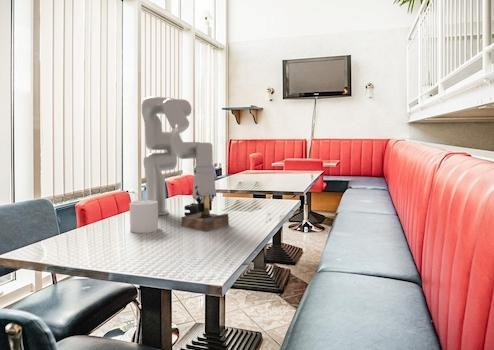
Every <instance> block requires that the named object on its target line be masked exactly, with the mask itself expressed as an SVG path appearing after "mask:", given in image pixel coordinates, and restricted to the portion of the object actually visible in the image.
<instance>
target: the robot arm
mask: <svg viewBox="0 0 494 350" xmlns="http://www.w3.org/2000/svg"><path fill="white" fill-rule="evenodd" d="M191 113H192V105H191V103H190V102H189V101H188V100H187V99H181V98H176V97H175V98H174V97H164V96H163V97H162V96H147V97H145V98H144V100H143V101H142V104H141V114H142V119H143V123H144V136H145V140H144V141H145V147H146V148H147V149H148V150H150V151H163V152H150V153H148V154H146V155H145V156H144V157H143V167H144V168H143V169H144V171H145V184H146V187H145V189H146V200H153V201H157V202H158V216H164V215H168V214H169V212H170V211H169V210H168V209H166V206H167V205H166V179H165V176H164V175H163V173H162V172H167V171H173V170H175V168H176V167H177V164H178V158H179V159H180V160H187V159H189V160H190V159H191V160H192V159H195V174H194V176H193V183H192V198H193V199H194V200H195V201H196V204H197V203H198V211H199V212H204V203H203V199H204V196H206V195H209V199H210V211H213V210H212V209H213V207H212V206H213V203H212V202H213V201H214V198H215V196H217V191H216V182H215V181H216V180H215V174H214V163H213V162H214V159H213V155H214V154H213V150H214V149H213V144H212V143H211V142H198V141H183V139H182V137H181V135H180V134H181V133H184V132H185V131H186V130H187V129H188V128H189V126H190V121H189V119H188V117H189V116H190V115H191ZM158 115H165V117H166V119H167V121H168V123H169V125H170V128H171V132H169V131H163V124H162V120H161V119H160V117H159V116H158Z"/></svg>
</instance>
